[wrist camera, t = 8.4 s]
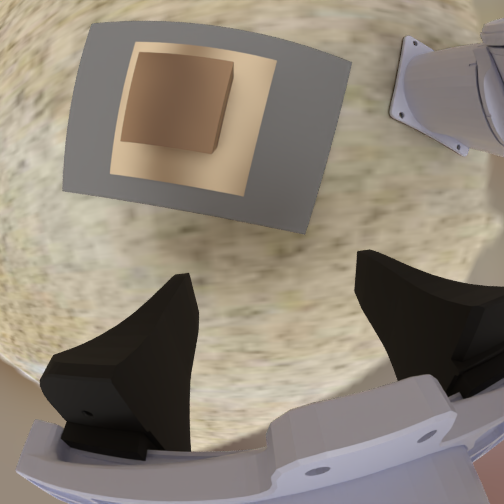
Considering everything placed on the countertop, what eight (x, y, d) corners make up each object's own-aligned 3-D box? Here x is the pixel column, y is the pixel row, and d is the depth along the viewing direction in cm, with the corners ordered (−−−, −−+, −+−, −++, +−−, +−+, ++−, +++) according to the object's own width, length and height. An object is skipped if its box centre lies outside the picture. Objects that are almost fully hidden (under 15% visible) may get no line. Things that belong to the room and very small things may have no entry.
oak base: (271, 68, 16) (277, 60, 14) (242, 187, 20) (243, 196, 18) (146, 50, 15) (135, 41, 13) (123, 167, 19) (109, 173, 16)
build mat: (350, 63, 17) (352, 62, 16) (303, 232, 22) (305, 234, 22) (93, 25, 14) (91, 23, 13) (64, 189, 19) (62, 191, 19)
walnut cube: (233, 77, 15) (233, 61, 10) (217, 147, 16) (211, 154, 12) (161, 68, 14) (139, 51, 10) (146, 136, 16) (120, 141, 12)
